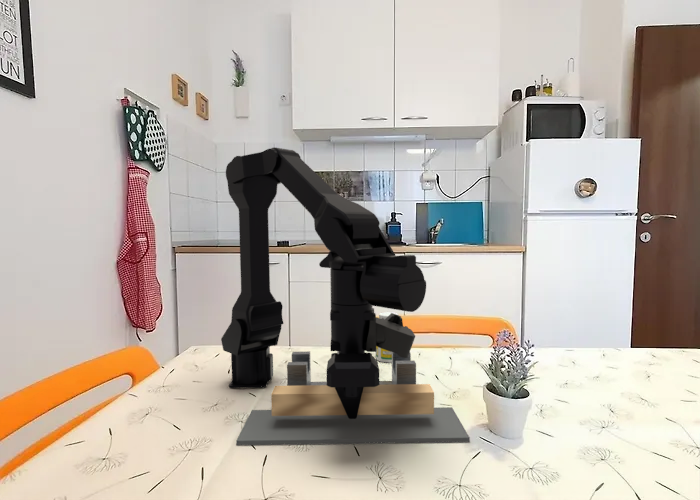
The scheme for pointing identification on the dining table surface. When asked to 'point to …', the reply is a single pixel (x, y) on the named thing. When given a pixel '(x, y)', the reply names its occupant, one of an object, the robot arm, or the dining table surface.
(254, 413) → the rubber mat
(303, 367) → the cradle stand
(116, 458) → the dining table surface
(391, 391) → the oak bar
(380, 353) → the supplement bottle
